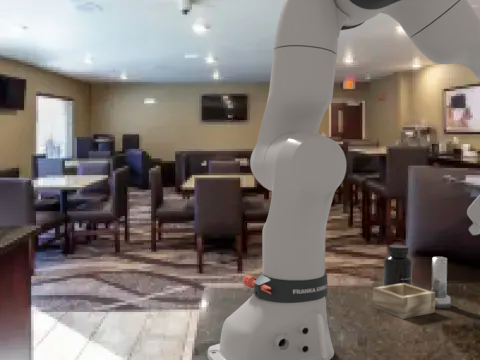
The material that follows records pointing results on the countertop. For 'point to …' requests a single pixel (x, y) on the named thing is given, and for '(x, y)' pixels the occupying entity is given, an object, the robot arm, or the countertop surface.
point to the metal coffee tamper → (440, 282)
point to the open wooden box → (404, 300)
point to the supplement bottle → (397, 266)
